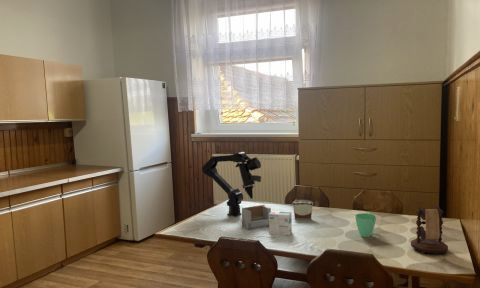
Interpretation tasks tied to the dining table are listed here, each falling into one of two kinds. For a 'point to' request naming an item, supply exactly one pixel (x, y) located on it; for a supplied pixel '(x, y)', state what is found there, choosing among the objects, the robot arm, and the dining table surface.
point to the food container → (302, 209)
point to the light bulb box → (280, 223)
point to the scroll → (429, 231)
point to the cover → (255, 211)
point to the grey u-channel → (255, 219)
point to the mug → (365, 223)
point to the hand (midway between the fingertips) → (251, 198)
